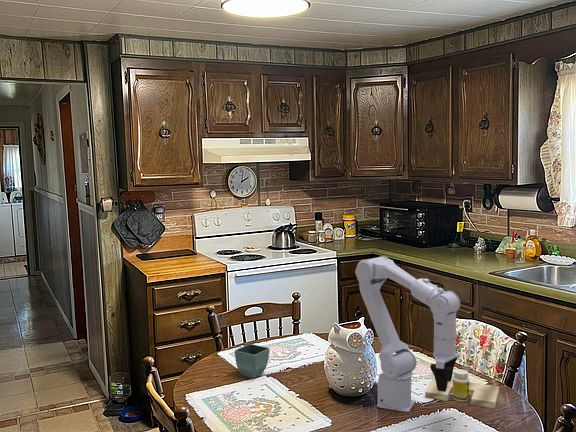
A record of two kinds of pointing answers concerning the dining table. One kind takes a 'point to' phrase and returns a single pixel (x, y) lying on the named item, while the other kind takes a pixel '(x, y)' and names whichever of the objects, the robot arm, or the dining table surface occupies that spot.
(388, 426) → the dining table surface
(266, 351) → the flower pot
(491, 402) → the notched board
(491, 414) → the dining table surface
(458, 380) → the supplement bottle
